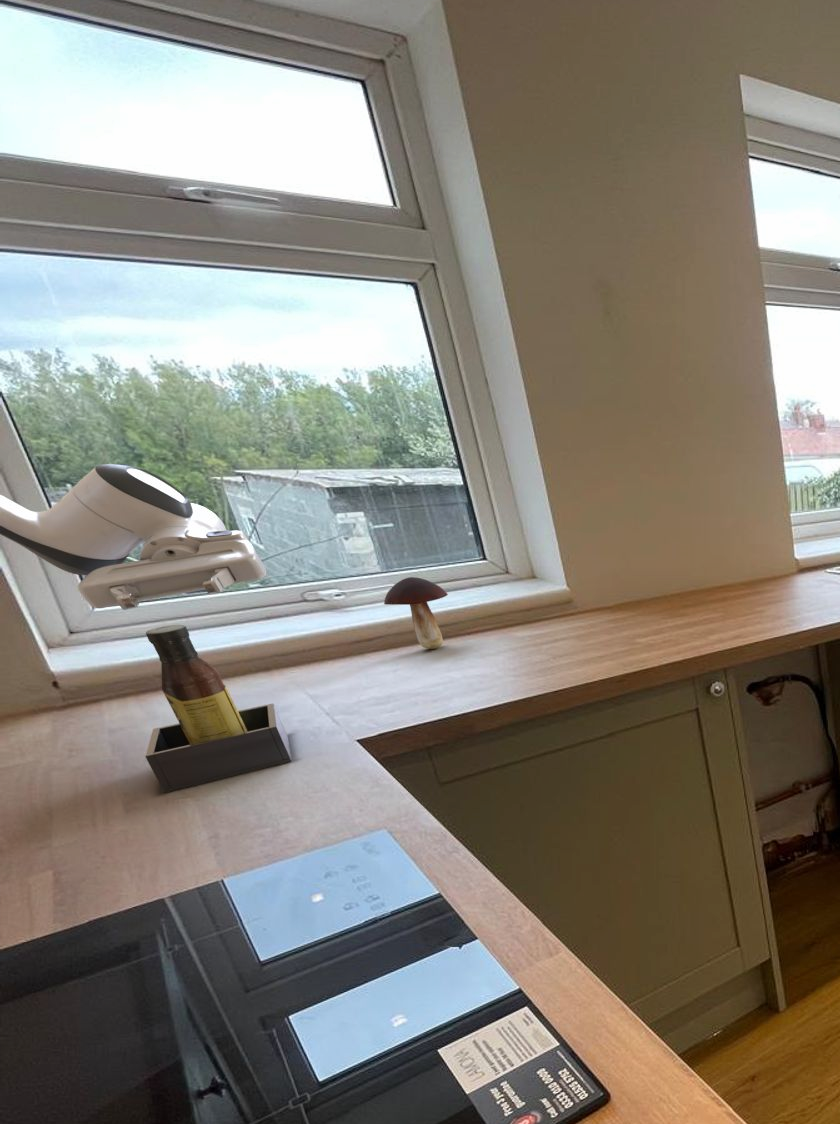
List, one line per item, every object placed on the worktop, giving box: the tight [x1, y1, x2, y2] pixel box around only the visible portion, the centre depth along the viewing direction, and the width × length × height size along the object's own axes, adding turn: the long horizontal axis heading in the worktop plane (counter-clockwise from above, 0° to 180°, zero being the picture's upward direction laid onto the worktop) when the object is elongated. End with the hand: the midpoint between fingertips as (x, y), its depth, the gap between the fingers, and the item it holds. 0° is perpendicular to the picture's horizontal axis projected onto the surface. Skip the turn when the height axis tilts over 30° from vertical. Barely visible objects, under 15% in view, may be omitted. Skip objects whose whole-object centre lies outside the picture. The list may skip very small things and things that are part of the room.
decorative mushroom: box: [383, 576, 449, 650], centre depth 166 cm, size 11×11×15 cm
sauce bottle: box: [145, 624, 248, 745], centre depth 114 cm, size 6×6×20 cm
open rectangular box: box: [145, 703, 292, 794], centre depth 117 cm, size 14×14×6 cm
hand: (170, 596), depth 115 cm, fingers open, 8 cm apart
